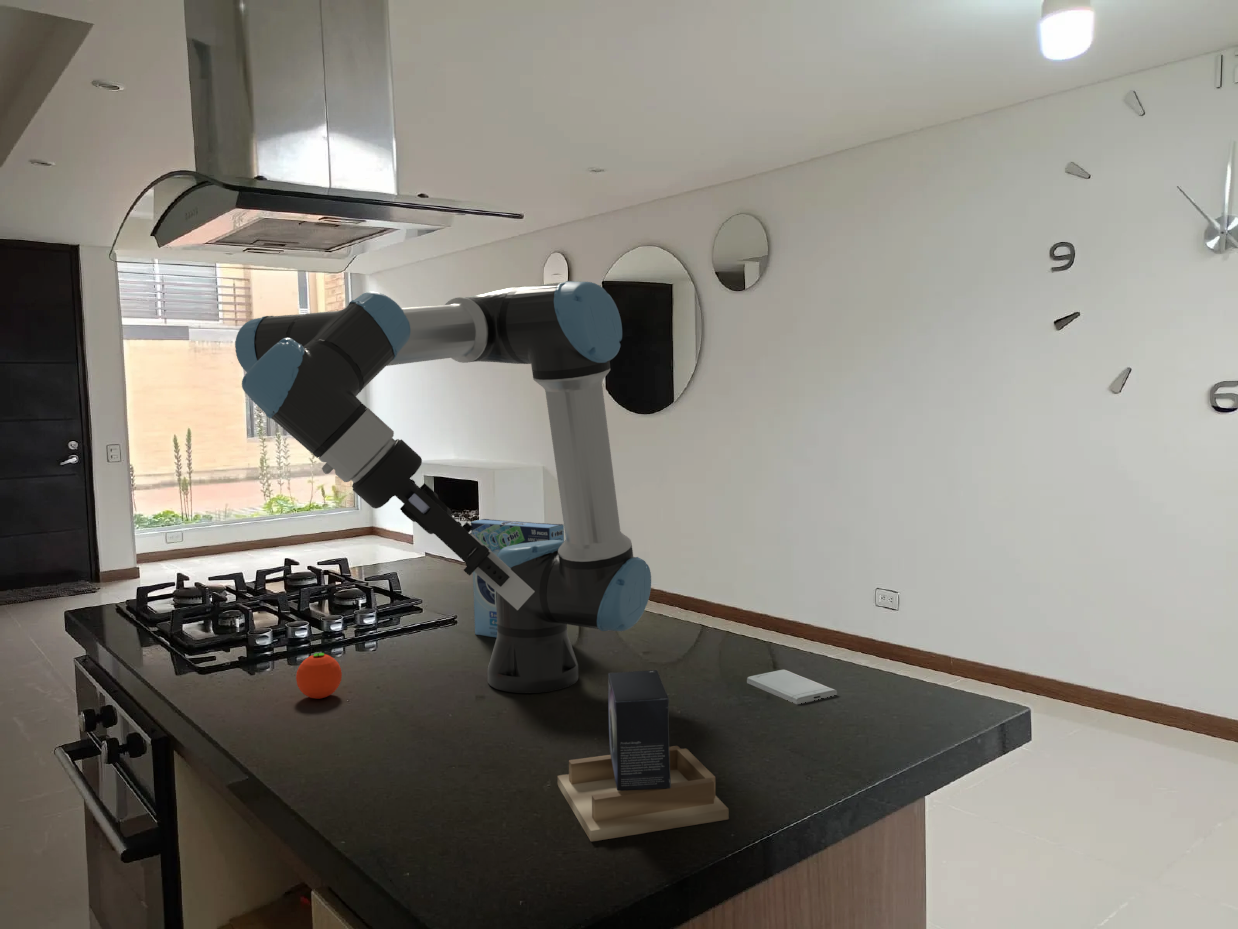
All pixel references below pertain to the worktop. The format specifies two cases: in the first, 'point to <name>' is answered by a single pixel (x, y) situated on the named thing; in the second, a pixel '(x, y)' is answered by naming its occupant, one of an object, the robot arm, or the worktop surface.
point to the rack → (640, 798)
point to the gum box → (495, 539)
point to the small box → (639, 730)
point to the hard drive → (791, 686)
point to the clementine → (318, 676)
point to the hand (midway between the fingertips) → (513, 588)
